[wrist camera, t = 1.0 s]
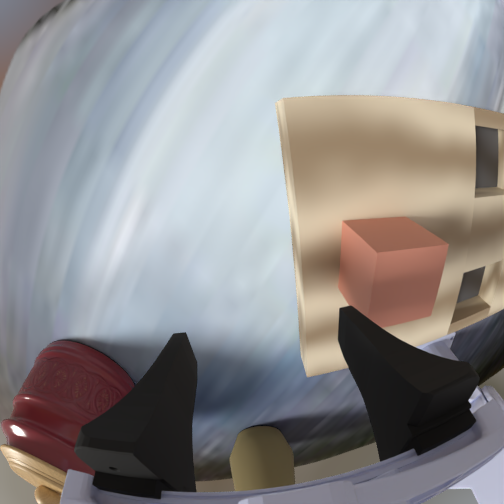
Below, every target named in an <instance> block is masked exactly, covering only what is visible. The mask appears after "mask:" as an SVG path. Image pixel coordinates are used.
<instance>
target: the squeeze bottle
mask: <svg viewBox="0 0 504 504" xmlns="http://www.w3.org/2000/svg"><path fill="white" fill-rule="evenodd" d="M230 465H231V471H232V477H233V482H234V487H235V491H248V490H258V489H267V488H275V487H282V486H288V485H294V484H295V476H294V459H293V452H292V449H291V447H290V446H289V444H288V443H287V441H286V439H285V438H284V436H283V435H282V433H281V431H280V430H278V429H277V428H274V427H270V426H257V427H250V428H248V429H245V430H243V431H241V432H240V433H239V434H238V436H237V439H236V442H235V445H234V447H233V450H232V453H231V456H230Z"/></svg>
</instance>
